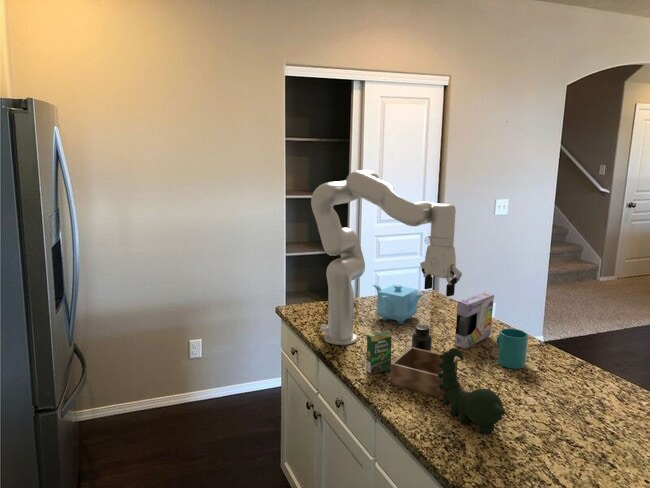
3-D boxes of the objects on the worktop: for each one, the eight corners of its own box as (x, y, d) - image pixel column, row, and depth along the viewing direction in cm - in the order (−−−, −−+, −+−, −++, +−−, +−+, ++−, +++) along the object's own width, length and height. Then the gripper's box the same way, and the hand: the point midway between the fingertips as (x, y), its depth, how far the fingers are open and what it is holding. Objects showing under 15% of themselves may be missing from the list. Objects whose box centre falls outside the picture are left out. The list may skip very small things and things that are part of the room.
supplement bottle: (430, 365, 172) (432, 331, 170) (410, 363, 173) (411, 329, 171) (430, 357, 179) (432, 324, 176) (411, 355, 180) (412, 323, 178)
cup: (506, 353, 182) (508, 324, 180) (531, 367, 171) (534, 335, 169) (486, 357, 179) (488, 327, 176) (510, 371, 168) (513, 339, 166)
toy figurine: (430, 409, 146) (489, 449, 124) (430, 345, 144) (490, 374, 122) (457, 403, 150) (519, 440, 127) (457, 340, 148) (520, 367, 125)
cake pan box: (463, 350, 185) (466, 303, 182) (451, 346, 189) (454, 300, 185) (491, 337, 198) (495, 293, 194) (480, 333, 201) (483, 291, 198)
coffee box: (369, 375, 164) (371, 337, 161) (365, 371, 166) (366, 334, 164) (391, 371, 167) (392, 333, 165) (386, 367, 170) (388, 330, 167)
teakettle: (410, 311, 229) (411, 279, 226) (425, 325, 210) (426, 291, 208) (369, 312, 225) (370, 280, 223) (381, 327, 207) (382, 292, 204)
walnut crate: (389, 384, 157) (390, 363, 156) (410, 366, 171) (410, 346, 169) (439, 398, 149) (440, 376, 148) (456, 378, 162) (457, 357, 161)
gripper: (414, 238, 171) (412, 287, 174) (454, 247, 157) (451, 300, 160) (430, 236, 175) (427, 284, 178) (470, 245, 161) (467, 296, 164)
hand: (438, 292), depth 169 cm, fingers open, 9 cm apart
